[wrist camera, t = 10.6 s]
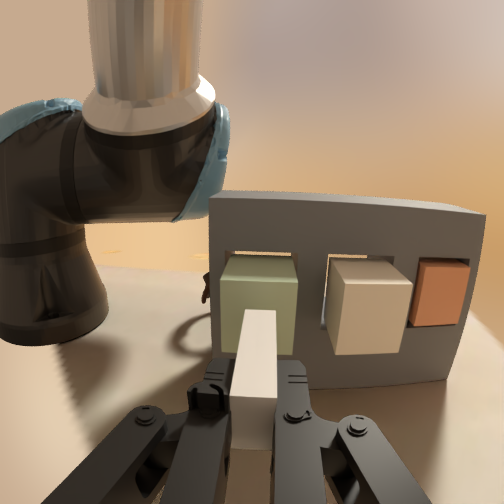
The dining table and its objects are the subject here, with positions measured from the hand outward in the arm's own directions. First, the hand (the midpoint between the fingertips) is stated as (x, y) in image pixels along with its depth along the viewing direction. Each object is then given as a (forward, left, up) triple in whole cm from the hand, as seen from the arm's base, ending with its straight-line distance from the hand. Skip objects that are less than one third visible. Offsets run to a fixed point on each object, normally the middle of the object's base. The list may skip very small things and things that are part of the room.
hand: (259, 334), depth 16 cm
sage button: (0, +4, -2) cm, 4 cm away
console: (+6, +8, -8) cm, 13 cm away
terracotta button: (+13, +7, -2) cm, 15 cm away
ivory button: (+6, +4, -2) cm, 8 cm away
